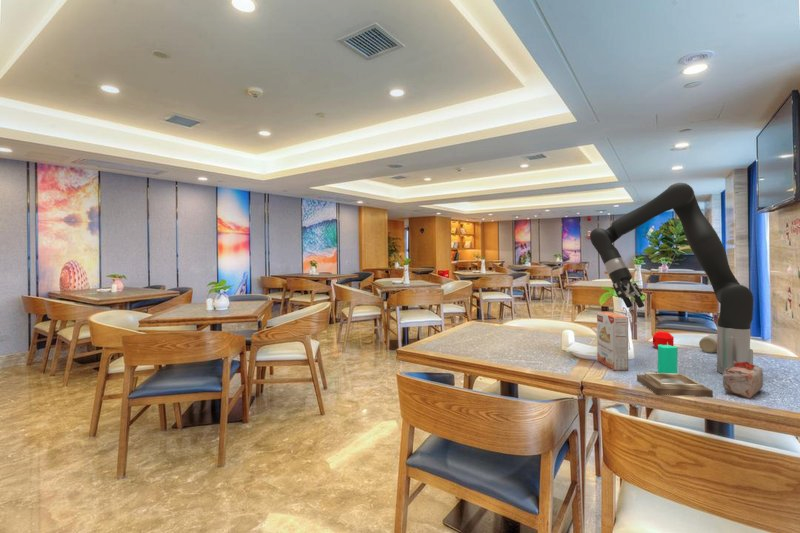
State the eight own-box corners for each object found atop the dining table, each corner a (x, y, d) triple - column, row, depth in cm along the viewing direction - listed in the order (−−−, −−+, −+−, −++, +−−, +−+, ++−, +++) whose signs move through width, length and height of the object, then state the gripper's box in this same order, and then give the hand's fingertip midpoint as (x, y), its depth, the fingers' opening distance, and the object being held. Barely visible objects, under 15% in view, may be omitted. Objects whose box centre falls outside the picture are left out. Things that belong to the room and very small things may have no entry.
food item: (753, 401, 117) (754, 368, 117) (720, 393, 124) (720, 362, 123) (764, 391, 125) (765, 361, 125) (733, 384, 132) (733, 356, 131)
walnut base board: (687, 382, 134) (687, 373, 134) (712, 396, 120) (712, 386, 120) (637, 380, 137) (637, 371, 137) (656, 394, 123) (656, 384, 123)
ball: (653, 345, 188) (653, 330, 187) (673, 347, 183) (673, 331, 183) (652, 349, 181) (652, 332, 181) (673, 351, 176) (673, 334, 176)
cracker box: (596, 360, 162) (596, 311, 161) (610, 361, 162) (611, 311, 161) (612, 370, 148) (612, 316, 147) (628, 371, 148) (629, 316, 147)
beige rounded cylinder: (697, 351, 176) (698, 334, 176) (705, 349, 180) (706, 332, 180) (726, 357, 167) (727, 339, 166) (734, 354, 171) (735, 337, 171)
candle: (680, 377, 140) (680, 344, 140) (662, 376, 141) (662, 343, 141) (672, 372, 146) (672, 340, 145) (654, 371, 147) (655, 340, 147)
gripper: (616, 265, 154) (635, 303, 147) (635, 267, 162) (654, 303, 155) (600, 274, 160) (617, 310, 153) (619, 275, 167) (636, 310, 160)
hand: (636, 307), depth 154 cm, fingers open, 8 cm apart
